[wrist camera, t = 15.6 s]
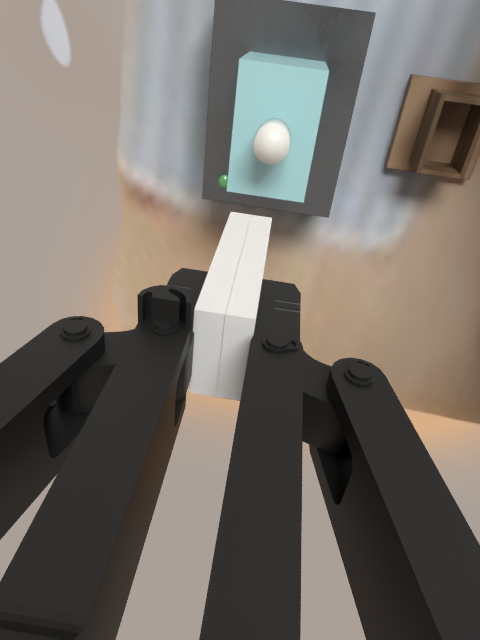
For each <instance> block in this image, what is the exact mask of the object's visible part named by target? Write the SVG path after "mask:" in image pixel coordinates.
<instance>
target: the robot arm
mask: <svg viewBox="0 0 480 640" xmlns="http://www.w3.org/2000/svg"><path fill="white" fill-rule="evenodd" d="M271 223H272V218H270V217H263V216H257V215H250V214H243V213H236V212H230V215H229V218H228V220H227V223H226V226H225V228H224V231H223V234H222V237H221V239H220V242H219V245H218V247H217V250H216V253H215V255H214V258H213V261H212V263H211V266H210V269H209V271H208V272H206V271H199V270H193V269H186V268H182V269H180V270H179V271H177V272H175V273H174V274H172V276H171V278H170V280H169V282H168V285H167V286H165V285H159V286H153V287H149V288H147V289H144V290H142V291H141V292H140V293H139V294H138V324H137V326H136V328H135V329H133V330H129V331H122V332H105V333H104V327H103V326H102V324H101V323H100V322H99V321H97V320H95V319H93V318H89V317H84V316H78V317H77V316H74V317H68V318H64V319H61V320H59V321H57V322H55V323H53V324H52V325H50V326H49V327H48V328H46V329H45V330H44V331H42V332H41V333H40V334H39V335H37V336H36V337H34V338H33V339H32V340H31V341H29V342H28V343H27V344H25V345H24V346H23V347H21V348H20V349H19V350H17V351H16V352H15V353H13V354H12V355H11V356H9V357H8V358H7V359H5V360H4V361H3V362H1V363H0V539H1V538H2V537H3V536H4V535H5V534H6V533H7V531H8V530H9V529H10V528H11V527H12V526H13V524H14V523H15V522H16V521H17V520H18V519H19V518H20V516H21V515H22V514H23V513H24V512H25V511H26V509H27V508H28V507H29V506H30V505H31V503H32V502H33V501H34V500H35V499H36V498H37V497H38V496H39V494H40V493H41V492H42V491H43V490H44V488H45V487H46V486H47V485H48V484H49V483H50V482H51V480H52V479H53V478H54V477H55V476H56V475H57V476H56V478H55V480H54V482H53V484H52V486H51V488H50V489H49V491H48V493H47V495H46V497H45V499H44V501H43V503H42V504H41V506H40V508H39V510H38V512H37V514H36V516H35V518H34V519H33V522H32V523H31V525H30V527H29V529H28V531H27V533H26V534H25V536H24V538H23V540H22V542H21V544H20V546H19V548H18V550H17V552H16V553H15V555H14V557H13V559H12V561H11V563H10V565H9V566H8V568H7V570H6V572H5V574H4V576H3V578H2V580H1V582H0V640H116V636H117V633H118V629H119V626H120V623H121V619H122V616H123V613H124V610H125V606H126V603H127V600H128V596H129V593H130V589H131V586H132V583H133V579H134V576H135V573H136V570H137V566H138V563H139V560H140V556H141V553H142V550H143V546H144V543H145V539H146V536H147V533H148V530H149V526H150V523H151V520H152V516H153V513H154V510H155V506H156V503H157V499H158V496H159V493H160V489H161V486H162V483H163V479H164V476H165V473H166V469H167V466H168V463H169V459H170V456H171V453H172V449H173V446H174V443H175V439H176V436H177V433H178V429H179V426H180V423H181V419H182V416H183V413H184V409H185V403H186V392H187V389H188V385H189V393H195V394H201V395H207V396H213V397H219V398H225V399H231V400H237V401H240V406H239V411H238V417H237V423H236V429H235V435H234V441H233V446H232V453H231V458H230V464H229V470H228V475H227V481H226V487H225V493H224V499H223V505H222V511H221V516H220V522H219V529H218V534H217V540H216V546H215V551H214V557H213V563H212V569H211V575H210V581H209V586H208V593H207V598H206V605H205V610H204V616H203V622H202V627H201V633H200V639H199V640H300V610H301V608H300V607H301V518H302V516H301V515H302V513H301V512H302V441H303V442H305V443H308V444H309V447H310V454H311V457H312V460H313V463H314V467H315V469H316V473H317V477H318V480H319V484H320V487H321V490H322V494H323V497H324V500H325V503H326V507H327V510H328V514H329V517H330V520H331V524H332V527H333V530H334V534H335V537H336V540H337V544H338V547H339V550H340V553H341V557H342V560H343V563H344V567H345V570H346V574H347V577H348V580H349V584H350V587H351V590H352V594H353V597H354V600H355V604H356V607H357V610H358V614H359V617H360V620H361V623H362V627H363V630H364V634H365V637H366V640H480V545H479V543H478V541H477V540H476V538H475V536H474V534H473V532H472V530H471V529H470V527H469V525H468V523H467V522H466V520H465V518H464V516H463V514H462V513H461V511H460V509H459V507H458V505H457V504H456V502H455V500H454V498H453V496H452V495H451V493H450V491H449V489H448V487H447V486H446V484H445V482H444V480H443V478H442V477H441V475H440V473H439V471H438V469H437V468H436V466H435V464H434V462H433V461H432V459H431V457H430V455H429V453H428V451H427V450H426V448H425V446H424V444H423V442H422V441H421V439H420V437H419V435H418V434H417V432H416V430H415V428H414V427H413V425H412V423H411V421H410V419H409V417H408V416H407V414H406V412H405V410H404V408H403V407H402V405H401V403H400V401H399V399H398V398H397V396H396V394H395V392H394V390H393V389H392V387H391V385H390V383H389V381H388V380H387V378H386V376H385V375H384V374H383V372H382V371H381V370H380V369H379V368H377V367H376V366H375V365H373V364H372V363H369V362H367V361H364V360H361V359H356V358H345V359H340V360H338V361H336V362H335V363H334V364H333V366H332V367H331V366H329V365H326V364H323V363H321V362H319V361H317V360H315V359H313V358H312V357H310V356H309V355H308V354H307V353H306V352H305V351H304V350H303V346H302V343H301V342H300V298H301V293H300V292H299V290H298V289H297V288H296V286H295V285H294V284H291V283H284V282H278V281H271V280H265V279H263V273H264V267H265V261H266V254H267V248H268V242H269V235H270V229H271ZM189 382H190V384H189ZM58 472H59V473H58Z"/></svg>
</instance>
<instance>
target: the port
mask: <svg viewBox="0 0 480 640" xmlns="http://www.w3.org/2000/svg"><path fill="white" fill-rule="evenodd" d="M375 14H376V13H374V12H366V11H359V10H351V9H344V8H336V7H329V6H321V5H313V4H306V3H298V2H291V1H283V0H215V8H214V24H213V39H212V54H211V70H210V85H209V100H208V116H207V131H206V147H205V162H204V177H203V193H202V199H208V200H215V201H221V202H228V203H235V204H242V205H248V206H255V207H262V208H268V209H275V210H282V211H289V212H295V213H302V214H309V215H316V216H322V217H329V214H330V209H331V205H332V201H333V196H334V192H335V187H336V183H337V179H338V174H339V170H340V166H341V161H342V157H343V153H344V148H345V144H346V140H347V135H348V131H349V127H350V122H351V118H352V114H353V109H354V105H355V101H356V96H357V92H358V88H359V83H360V79H361V74H362V70H363V66H364V61H365V57H366V53H367V48H368V44H369V40H370V35H371V31H372V27H373V22H374V18H375ZM250 51H251V52H258V53H265V54H272V55H280V56H287V57H294V58H302V59H309V60H316V61H324V62H326V65H327V67H328V69H329V75H328V80H327V85H326V90H325V95H324V100H323V106H322V111H321V116H320V121H319V126H318V131H317V136H316V142H315V147H314V152H313V157H312V162H311V167H310V172H309V178H308V183H307V188H306V193H305V198H304V203H302V202H295V201H289V200H282V199H275V198H268V197H262V196H255V195H248V194H241V193H235V192H228V191H227V182H228V172H229V161H230V151H231V140H232V130H233V119H234V109H235V98H236V88H237V77H238V67H239V59H240V58H241V57H242V56H244V55H245V54H247V53H248V52H250Z"/></svg>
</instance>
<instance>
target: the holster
mask: <svg viewBox="0 0 480 640" xmlns="http://www.w3.org/2000/svg"><path fill="white" fill-rule="evenodd" d="M479 154H480V84H478V83H471V82H463V81H456V80H449V79H441V78H434V77H427V76H419V75H412V74H411V76H410V79H409V83H408V86H407V90H406V93H405V97H404V100H403V104H402V108H401V111H400V115H399V118H398V122H397V125H396V129H395V132H394V136H393V139H392V143H391V146H390V150H389V153H388V157H387V160H386V164H385V165H386V167H387V168H392V169H399V170H406V171H413V172H416V173H422V174H429V175H436V176H443V177H450V178H457V179H468V180H470V177H471V174H472V172H473V169H474V167H475V164H476V162H477V159H478V157H479Z"/></svg>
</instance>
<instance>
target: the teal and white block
mask: <svg viewBox="0 0 480 640" xmlns="http://www.w3.org/2000/svg"><path fill="white" fill-rule="evenodd" d="M328 75H329V69H328V67H327V65H326V62H324V61H316V60H309V59H302V58H294V57H287V56H280V55H272V54H265V53H258V52H251V51H250V52H248V53H247V54H245V55H244V56H242V57H241V58H240V59H239V67H238V77H237V88H236V98H235V109H234V119H233V130H232V140H231V151H230V161H229V172H228V182H227V191H228V192H235V193H241V194H248V195H255V196H262V197H268V198H275V199H282V200H289V201H295V202H302V203H304V198H305V193H306V188H307V183H308V178H309V172H310V167H311V162H312V157H313V152H314V147H315V142H316V136H317V131H318V126H319V121H320V116H321V111H322V106H323V100H324V95H325V90H326V85H327V80H328Z"/></svg>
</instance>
